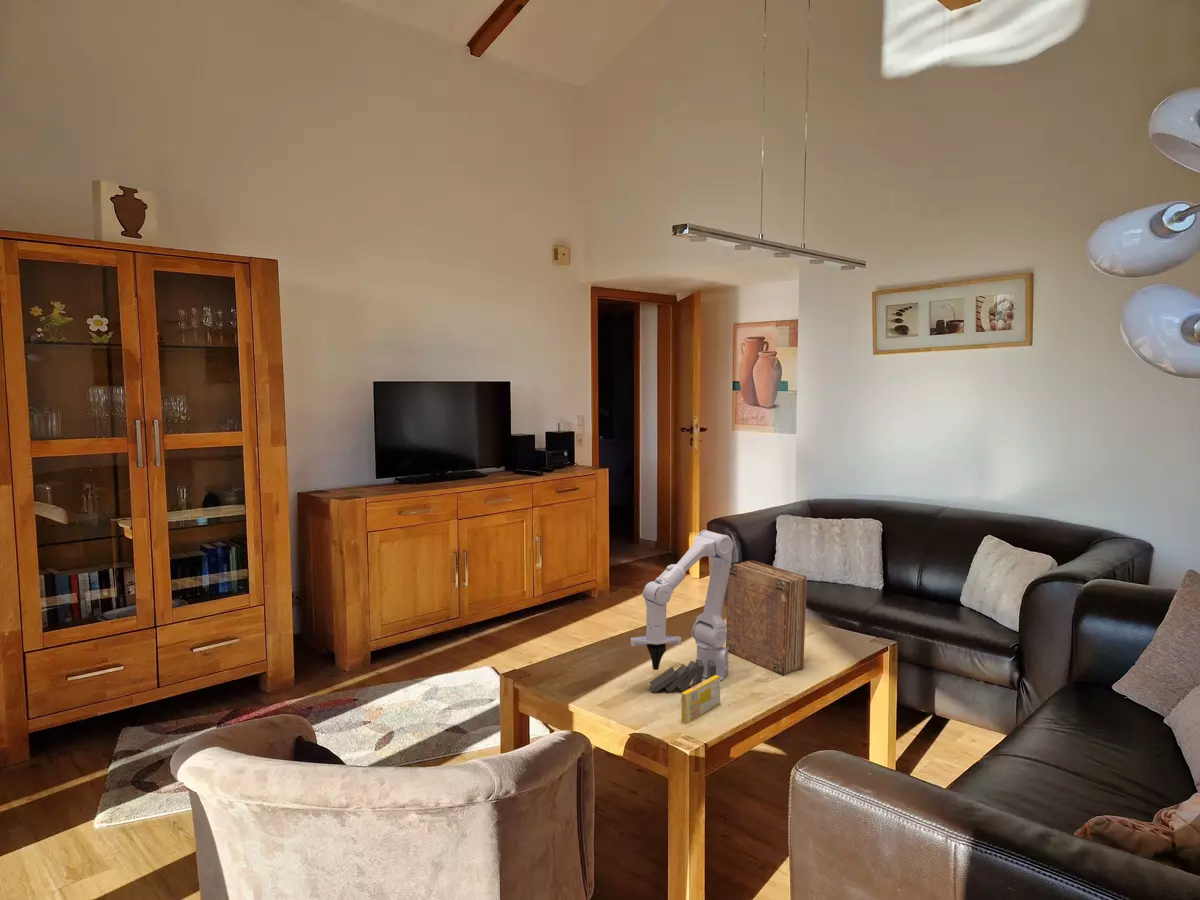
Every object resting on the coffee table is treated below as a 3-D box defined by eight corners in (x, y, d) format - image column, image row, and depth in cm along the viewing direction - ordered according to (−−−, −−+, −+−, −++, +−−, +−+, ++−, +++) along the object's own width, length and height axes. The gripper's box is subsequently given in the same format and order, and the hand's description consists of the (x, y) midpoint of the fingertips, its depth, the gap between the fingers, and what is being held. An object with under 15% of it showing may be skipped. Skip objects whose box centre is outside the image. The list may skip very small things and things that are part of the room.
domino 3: (682, 685, 233) (695, 662, 232) (684, 692, 228) (698, 669, 227) (677, 683, 233) (690, 660, 232) (679, 690, 228) (693, 666, 227)
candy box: (714, 702, 222) (715, 674, 221) (720, 704, 221) (721, 676, 220) (680, 721, 210) (680, 691, 209) (686, 724, 209) (687, 694, 208)
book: (804, 670, 245) (807, 576, 242) (783, 676, 240) (787, 581, 237) (745, 645, 266) (747, 559, 263) (725, 651, 261) (727, 562, 257)
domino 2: (667, 685, 233) (686, 667, 232) (669, 693, 228) (689, 673, 227) (663, 682, 232) (682, 663, 232) (665, 689, 227) (685, 670, 227)
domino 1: (652, 686, 232) (675, 671, 232) (654, 693, 227) (677, 677, 227) (649, 681, 232) (672, 666, 232) (651, 688, 227) (674, 673, 227)
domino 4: (697, 685, 233) (701, 659, 232) (700, 692, 228) (704, 666, 227) (691, 685, 233) (696, 659, 232) (694, 692, 228) (698, 665, 227)
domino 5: (712, 685, 233) (712, 659, 232) (715, 692, 228) (716, 666, 227) (706, 685, 233) (707, 659, 232) (710, 692, 228) (710, 666, 227)
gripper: (678, 618, 232) (677, 662, 234) (629, 619, 231) (629, 663, 232) (683, 626, 225) (682, 671, 227) (632, 627, 224) (632, 673, 226)
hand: (655, 668), depth 229 cm, fingers closed
